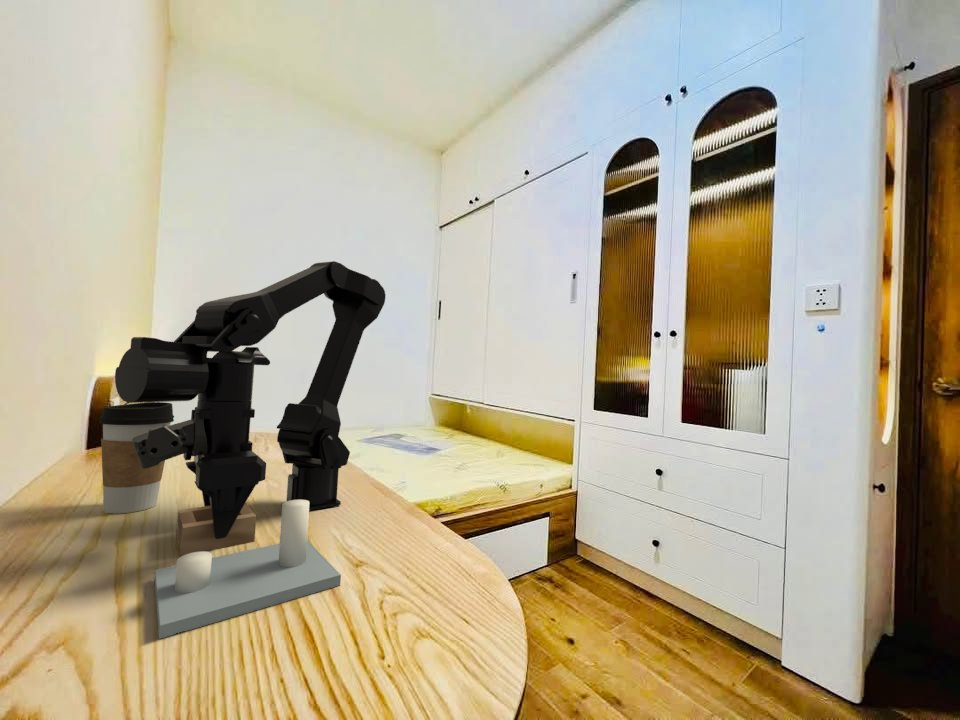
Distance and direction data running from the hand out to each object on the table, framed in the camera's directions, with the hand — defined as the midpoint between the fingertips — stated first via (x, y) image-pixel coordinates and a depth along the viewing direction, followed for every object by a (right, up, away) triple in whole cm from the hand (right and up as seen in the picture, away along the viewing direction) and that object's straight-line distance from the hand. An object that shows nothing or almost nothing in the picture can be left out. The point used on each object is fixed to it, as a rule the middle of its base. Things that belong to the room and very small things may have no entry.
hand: (215, 527), depth 50 cm
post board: (+10, -1, -10) cm, 14 cm away
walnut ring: (0, -1, 0) cm, 1 cm away
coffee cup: (-18, -1, +9) cm, 21 cm away
